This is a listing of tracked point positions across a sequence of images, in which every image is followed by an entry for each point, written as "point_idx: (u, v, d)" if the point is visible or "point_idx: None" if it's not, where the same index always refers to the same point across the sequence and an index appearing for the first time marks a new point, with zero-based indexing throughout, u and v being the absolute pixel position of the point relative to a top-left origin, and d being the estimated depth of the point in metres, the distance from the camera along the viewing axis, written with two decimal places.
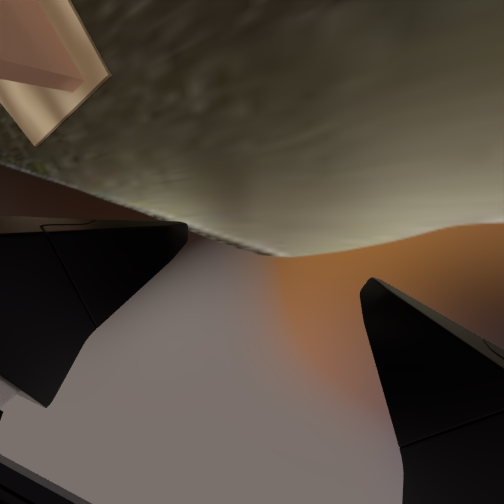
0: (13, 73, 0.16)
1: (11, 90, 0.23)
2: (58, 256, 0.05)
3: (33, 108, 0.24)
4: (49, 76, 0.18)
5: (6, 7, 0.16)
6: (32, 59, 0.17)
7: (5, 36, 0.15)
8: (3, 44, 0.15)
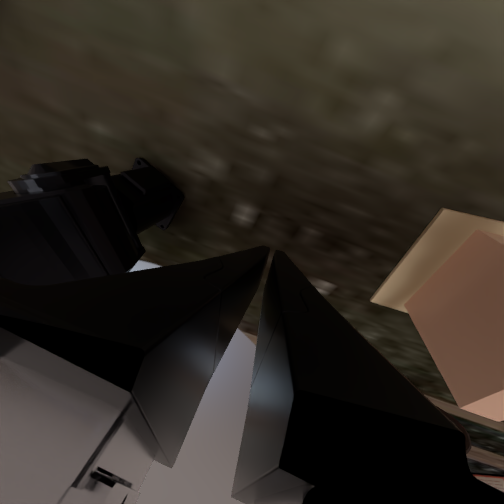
0: None
1: None
2: (219, 311, 0.04)
3: None
4: None
5: (462, 291, 0.16)
6: None
7: None
8: None
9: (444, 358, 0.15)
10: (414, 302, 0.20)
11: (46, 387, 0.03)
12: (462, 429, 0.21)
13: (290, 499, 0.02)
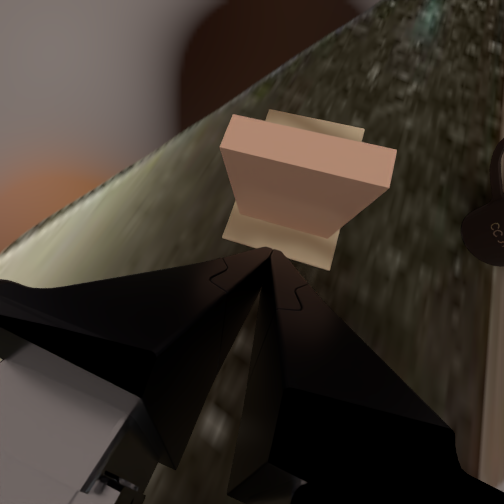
0: None
1: None
2: (224, 313, 0.04)
3: None
4: None
5: (279, 211, 0.17)
6: (241, 197, 0.17)
7: (253, 195, 0.16)
8: (245, 189, 0.15)
9: (345, 208, 0.13)
10: (317, 232, 0.19)
11: (53, 390, 0.03)
12: None
13: (280, 495, 0.02)
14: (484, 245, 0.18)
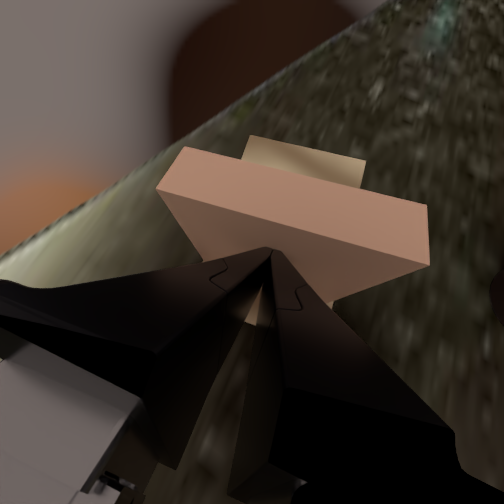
0: None
1: None
2: (225, 313, 0.04)
3: None
4: None
5: None
6: (205, 252, 0.12)
7: (220, 252, 0.11)
8: (208, 244, 0.11)
9: (350, 280, 0.09)
10: None
11: (53, 390, 0.03)
12: None
13: (281, 494, 0.02)
14: None
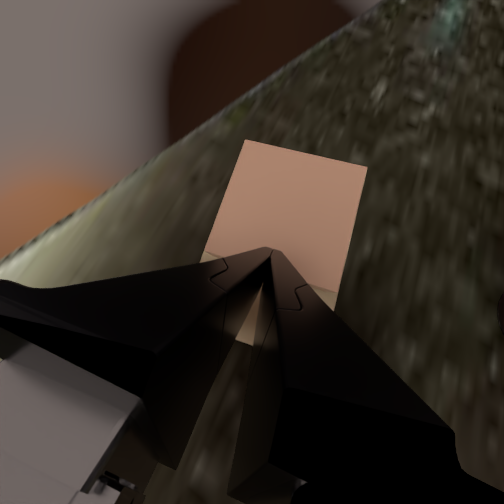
0: None
1: None
2: (224, 313, 0.04)
3: None
4: None
5: (272, 224, 0.14)
6: (230, 203, 0.15)
7: (248, 196, 0.15)
8: (243, 188, 0.15)
9: (344, 200, 0.14)
10: (321, 274, 0.13)
11: (53, 390, 0.03)
12: None
13: (280, 495, 0.02)
14: None
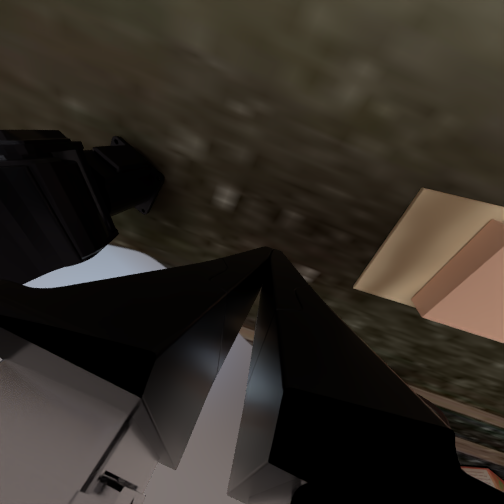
0: None
1: None
2: (225, 313, 0.04)
3: None
4: None
5: None
6: None
7: None
8: None
9: None
10: (440, 311, 0.18)
11: (53, 390, 0.03)
12: (442, 416, 0.21)
13: (280, 494, 0.02)
14: None
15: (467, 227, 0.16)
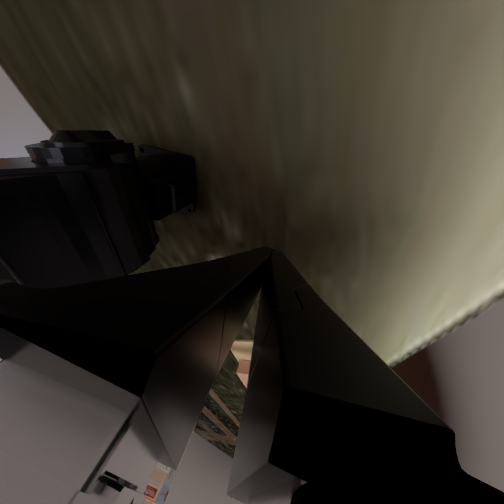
0: None
1: None
2: (224, 313, 0.04)
3: None
4: None
5: None
6: None
7: None
8: None
9: None
10: (244, 376, 0.36)
11: (53, 390, 0.03)
12: None
13: (281, 495, 0.02)
14: None
15: None
